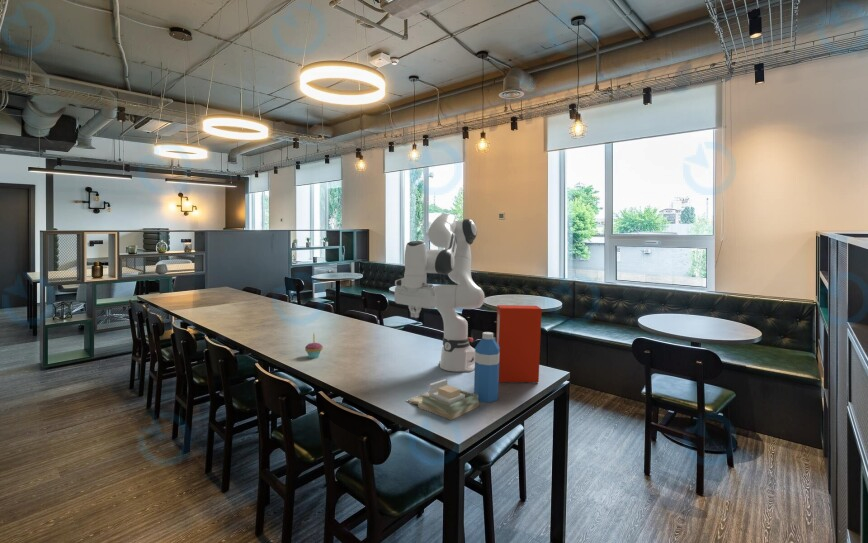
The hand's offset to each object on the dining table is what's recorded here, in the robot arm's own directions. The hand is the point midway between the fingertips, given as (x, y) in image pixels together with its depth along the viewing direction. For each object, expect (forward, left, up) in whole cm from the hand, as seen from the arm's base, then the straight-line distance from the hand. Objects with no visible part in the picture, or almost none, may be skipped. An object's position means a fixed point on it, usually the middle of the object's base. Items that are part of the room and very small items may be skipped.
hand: (414, 317), depth 163 cm
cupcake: (+3, -67, -29) cm, 73 cm away
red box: (-39, +24, -29) cm, 54 cm away
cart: (+5, +22, -27) cm, 35 cm away
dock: (+4, +18, -30) cm, 35 cm away
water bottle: (-13, +26, -29) cm, 41 cm away
